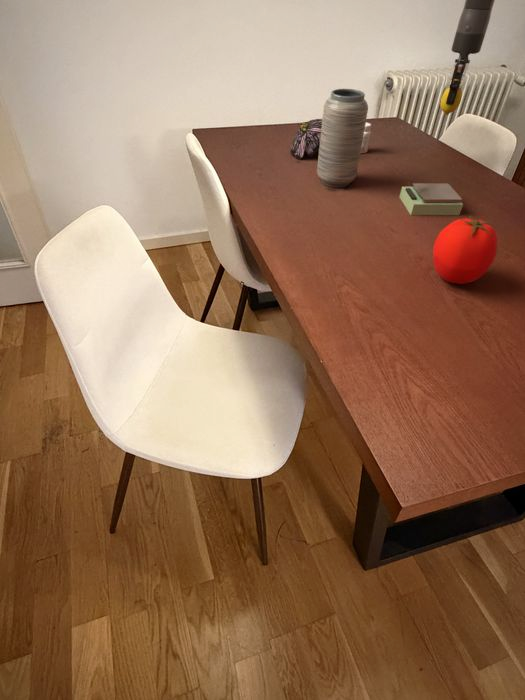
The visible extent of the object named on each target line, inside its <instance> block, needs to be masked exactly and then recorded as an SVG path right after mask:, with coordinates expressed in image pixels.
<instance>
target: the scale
mask: <svg viewBox="0 0 525 700" xmlns="http://www.w3.org/2000/svg"><path fill="white" fill-rule="evenodd" d="M398 198H399V199H400V200H401V202H402V203H403V205H404V207H405V208H406V210H407V211H408V213H409V215H410V216H460V214H461V211H462V209H463V207H464V203H463V202H462V201H461V202H423V201H422V200H421V198H420V197H419V196H418V194H417V193H416V191H415V190H414V189H413V187H412V186H401V189H400V193H399V197H398Z"/></svg>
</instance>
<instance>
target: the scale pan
mask: <svg viewBox="0 0 525 700" xmlns="http://www.w3.org/2000/svg"><path fill="white" fill-rule="evenodd" d="M411 187H413V189H414V190H415V191H416V193H417V194H418V196H419V197H420V198H421V200H422V201H423V202H462V201H463V198H462V197H461V196H460V195H459V194H458V193H457V191H455V189H454V188H453V187H452V186H451V185H450V184H449V183H447V182H446V183H444V182H443V183H441V182H440V183H439V182H438V183H437V182H436V183H434V182H433V183H429V182H428V183H427V182H425V183H419V182H418V183H416V182H415V183H414V182H413V183H412V184H411Z"/></svg>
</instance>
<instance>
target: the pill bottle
mask: <svg viewBox="0 0 525 700" xmlns="http://www.w3.org/2000/svg"><path fill="white" fill-rule="evenodd" d="M371 129H372V123H370V122H366V124H365V129H364V135H363V140H362V146H361V152H360V154H365V153H368V150H369V146H370V140H371V134H372V131H371Z"/></svg>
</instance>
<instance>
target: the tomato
mask: <svg viewBox="0 0 525 700" xmlns="http://www.w3.org/2000/svg"><path fill="white" fill-rule="evenodd" d="M468 217H469V218H459V219H456V220H454V221H452V222H451V223H449V224H448V225H447V226H446V227H444V228H443V229H441V231H440V232H439V234H438V235H437V237H436V239H435V241H434V245H433V248H432V249H433V250H432V253H433V254H432V256H433V266H434V270H435V271H436V273H437V274H438V276H440V278H441V279H442V280H443V281H445V282H447V283H453V284H458V285H466V284H468V283H472V282H475V281H476V280H478V279H480V278H481V277H482V276H484V275H485V274H486V272H487V271H488V270H489V269H490V267H491V266H492V264H493V263H494V261H495V258H496V256H497V249H498V236H497V233H496V231H495V229H494V228H493V227H492V226H491V225H489V224H487V223H490V220H489V221H485V220H482V219H474V218H473V217H472V216H471V215H468Z"/></svg>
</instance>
